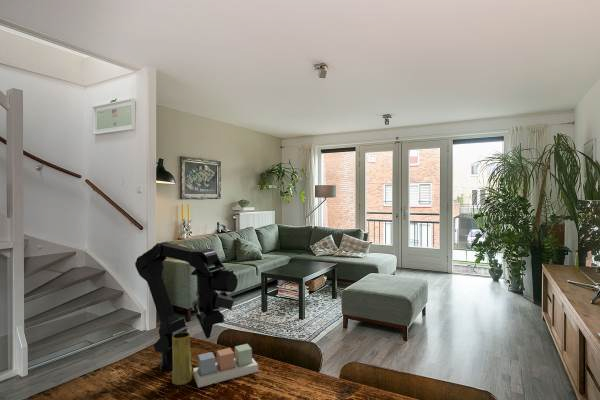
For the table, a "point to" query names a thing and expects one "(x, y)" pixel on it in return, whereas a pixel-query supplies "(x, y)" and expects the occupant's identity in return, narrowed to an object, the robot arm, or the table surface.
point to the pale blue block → (206, 364)
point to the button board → (224, 374)
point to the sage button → (243, 355)
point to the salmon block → (225, 359)
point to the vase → (181, 358)
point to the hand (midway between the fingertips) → (207, 337)
